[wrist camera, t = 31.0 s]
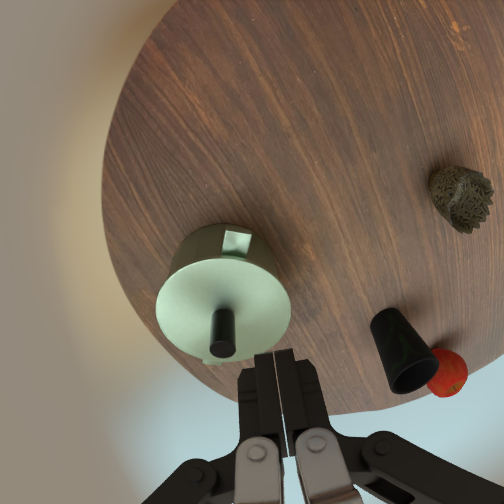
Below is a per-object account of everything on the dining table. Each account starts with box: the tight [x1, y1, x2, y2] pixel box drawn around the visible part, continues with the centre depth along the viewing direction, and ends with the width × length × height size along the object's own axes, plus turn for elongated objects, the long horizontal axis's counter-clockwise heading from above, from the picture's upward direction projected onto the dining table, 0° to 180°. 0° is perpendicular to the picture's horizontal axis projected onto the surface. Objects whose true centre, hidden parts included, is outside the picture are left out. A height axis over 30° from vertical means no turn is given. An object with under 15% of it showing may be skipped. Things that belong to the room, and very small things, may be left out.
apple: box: [427, 348, 468, 397], centre depth 46 cm, size 9×8×11 cm
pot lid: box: [156, 255, 291, 362], centre depth 29 cm, size 14×14×6 cm
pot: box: [168, 224, 278, 366], centre depth 35 cm, size 13×18×8 cm
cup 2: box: [428, 166, 494, 234], centre depth 31 cm, size 8×7×8 cm
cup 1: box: [370, 308, 440, 394], centre depth 40 cm, size 8×8×12 cm
